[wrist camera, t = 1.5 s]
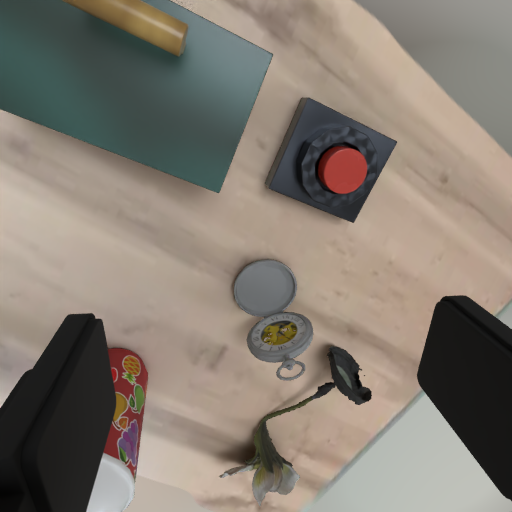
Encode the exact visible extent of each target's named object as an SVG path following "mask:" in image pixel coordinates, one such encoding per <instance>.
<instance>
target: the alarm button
mask: <svg viewBox="0 0 512 512" xmlns="http://www.w3.org/2000/svg"><path fill="white" fill-rule="evenodd" d="M366 174H367V163H366V160H365V158H364V156H363V155H362V154H361V153H360V152H359V151H357V150H355V149H352V148H349V147H345V146H337V147H333V148H331V149H329V150H328V151H327V152H326V153H325V154H324V155H323V156H322V158H321V159H320V162H319V165H318V175H319V178H320V180H321V182H322V183H323V184H324V185H325V186H326V187H328V188H329V189H330V190H332V191H333V192H336V193H339V194H346V193H350V192H352V191H354V190H356V189H357V188H358V187H359V186H360V185H361V184H362V183H363V181H364V179H365V177H366Z"/></svg>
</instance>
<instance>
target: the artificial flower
mask: <svg viewBox="0 0 512 512" xmlns="http://www.w3.org/2000/svg"><path fill="white" fill-rule="evenodd" d="M329 351H330V352H329V353H328V354H327V356H328V357H329V360H330V366H331V373H332V378H333V380H334V382H329V383H325V385H322V386H320V387H318V391H317V392H316V394H314V395H313V396H310V397H309V398H307V399H305V400H303V401H302V402H299V404H297V405H294V406H291V407H289V408H285V409H282V410H279V411H277V412H274V413H271V414H269V415H267V416H266V417H264V418H263V420H262V422H261V424H260V426H259V428H258V431H257V432H256V434H255V436H254V444H255V447H256V453H255V455H254V457H253V458H252V459H250V460H246V461H244V462H245V463H247V465H245V466H240V467H235V468H232V469H230V470H228V471H226V472H224V474H223V475H220V476H219V477H220V478H223V477H225V476H227V475H230V476H231V475H234V474H236V473H237V472H244V471H248V470H249V471H251V470H253V469H257V470H256V472H255V474H254V477H253V483H252V487H253V493H254V497H255V499H256V500H257V502H258V504H259V506H261V502H262V500H263V499H264V497H265V495H266V493H267V492H268V491H270V492H278V493H279V494H282V495H287V494H288V493H290V492H291V491H292V489H293V488H294V486H295V483H296V481H297V480H298V479H299V478H300V476H299V475H298V474H297V473H296V471H295V470H294V469H293V468H292V466H293V465H292V464H291V463H290V462H288V461H286V460H285V459H284V458H283V457H281V456H280V455H279V454H278V452H277V451H276V449H275V447H274V445H273V443H272V442H271V440H272V439H271V438H270V437H269V433H268V430H267V427H266V421H267V420H268V419H270V418H272V417H275V416H278V415H281V414H283V413H285V412H290V411H291V410H295V409H296V408H300V407H301V406H304V405H306V404H307V403H308V402H309V401H312V400H313V399H316V398H320V397H321V396H323V395H325V394H327V393H328V392H329V391H330V390H331V389H332V388H335V386H337V388H338V389H339V391H340V392H341V393H342V394H344V395H345V396H348V398H349V400H352V401H354V402H355V404H357V405H360V404H362V403H365V402H367V401H369V400H370V399H371V396H372V395H371V391H370V389H369V388H366V387H362V383H361V381H360V380H359V375H358V371H359V370H362V369H360V368H359V365H358V364H357V363H356V361H355V360H354V359H353V357H352V356H351V355H350V354H348V352H347V351H346V350H344V349H340V348H339V347H334V346H331V347H330V348H329ZM364 376H365V375H364Z"/></svg>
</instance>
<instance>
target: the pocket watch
mask: <svg viewBox="0 0 512 512" xmlns="http://www.w3.org/2000/svg"><path fill="white" fill-rule="evenodd" d="M296 291H297V282H296V278H295V276H294V274H293V273H292V271H291V270H290V268H289V267H287V266H286V265H284V264H283V263H281V262H279V261H276V260H269V259H266V260H259V261H255V262H253V263H251V264H249V265H248V266H246V267H245V268H244V269H243V270H242V271H241V272H240V273H239V275H238V276H237V278H236V281H235V284H234V297H235V300H236V302H237V303H238V305H239V307H240V308H241V309H242V310H244V311H245V312H246V313H248V314H251V315H253V316H259V317H264V319H262V320H261V321H259V322H258V323H256V324H255V325H254V326H253V327H252V328H251V330H250V332H249V333H248V337H247V344H248V348H249V349H250V351H251V353H252V354H253V355H254V356H255V357H256V358H258V359H259V360H262V361H265V362H273V363H276V362H283V361H284V362H283V363H282V366H280V367H279V368H278V370H277V372H276V373H277V377H278V378H280V379H282V380H292V379H296V378H298V377H300V376H301V375H302V374H303V373H304V371H305V365H304V364H303V363H302V362H299V361H295V360H294V359H293V358H295V357H297V356H298V355H300V354H302V353H303V352H304V351H305V350H306V349H307V348H308V347H309V345H310V343H311V341H312V337H313V328H312V324H311V322H310V321H309V319H308V318H306V317H305V316H303V315H301V314H297V313H294V312H284V313H283V310H285V309H286V308H287V307H288V306H289V305H290V304H291V303H292V301H293V300H294V297H295V295H296ZM284 328H287V331H285V332H284V331H283V332H284V333H282V331H281V330H282V329H284ZM288 328H289V330H290V331H289V330H288ZM293 330H296V331H293ZM270 333H272V334H271V335H270ZM268 334H269V335H268ZM265 337H269V338H270V339H268V338H267V340H266V341H264V339H265ZM270 341H271V343H270ZM267 342H269V343H268V344H265V343H267ZM272 343H273V345H271V344H272ZM295 363H296V364H299V365H301V366H302V370H301V372H300V373H299V374H298V375H296V376H294V377H290V378H285V377H282V376H281V375H280V370H281V369H282V368H287V369H288V370H291V369H292V368H293V366H294V365H295Z"/></svg>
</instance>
